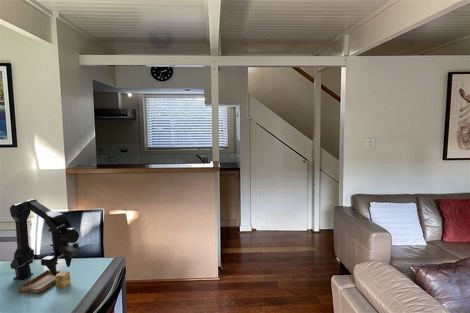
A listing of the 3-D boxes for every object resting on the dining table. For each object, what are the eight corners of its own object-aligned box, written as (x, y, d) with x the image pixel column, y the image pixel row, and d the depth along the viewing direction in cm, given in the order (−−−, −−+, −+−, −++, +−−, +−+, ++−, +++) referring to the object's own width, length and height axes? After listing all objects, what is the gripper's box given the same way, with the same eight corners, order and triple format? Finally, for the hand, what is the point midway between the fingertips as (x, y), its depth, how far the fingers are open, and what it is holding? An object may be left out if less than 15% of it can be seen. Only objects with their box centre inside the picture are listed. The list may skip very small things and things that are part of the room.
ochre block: (56, 287, 157) (55, 275, 157) (62, 282, 162) (61, 271, 161) (64, 288, 156) (63, 276, 156) (70, 283, 161) (69, 271, 160)
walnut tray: (18, 292, 154) (18, 287, 153) (47, 274, 171) (47, 269, 171) (40, 294, 151) (39, 289, 151) (67, 275, 169) (67, 271, 169)
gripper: (59, 249, 146) (62, 281, 148) (86, 234, 164) (88, 263, 166) (38, 247, 148) (41, 280, 150) (66, 233, 166) (69, 262, 168)
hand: (62, 271), depth 158 cm, fingers open, 9 cm apart
